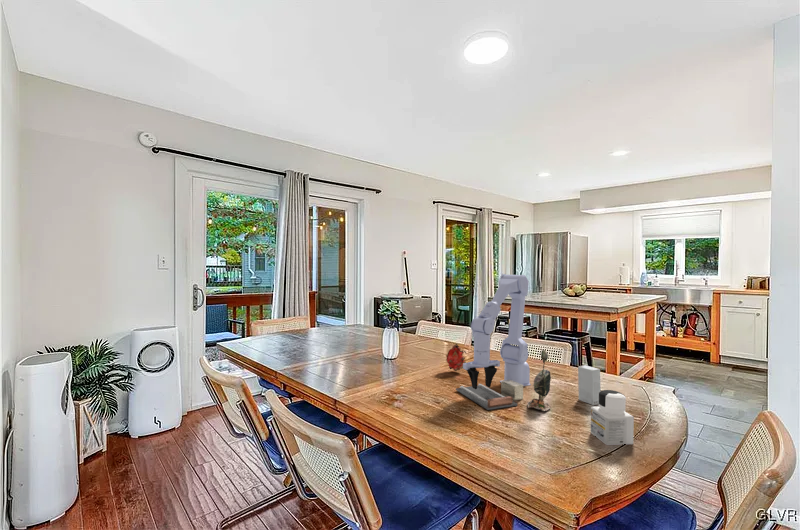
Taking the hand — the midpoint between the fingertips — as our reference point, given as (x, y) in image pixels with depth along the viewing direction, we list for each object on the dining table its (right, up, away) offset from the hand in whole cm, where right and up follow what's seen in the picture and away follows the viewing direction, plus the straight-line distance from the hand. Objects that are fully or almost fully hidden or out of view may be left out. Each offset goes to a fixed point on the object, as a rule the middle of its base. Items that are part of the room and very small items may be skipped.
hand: (481, 387), depth 142 cm
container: (+29, -4, -34) cm, 45 cm away
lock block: (+11, -3, -1) cm, 11 cm away
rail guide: (+1, -3, -1) cm, 3 cm away
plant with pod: (+18, -3, -10) cm, 21 cm away
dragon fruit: (-5, -3, +30) cm, 31 cm away
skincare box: (+37, -4, -6) cm, 37 cm away
